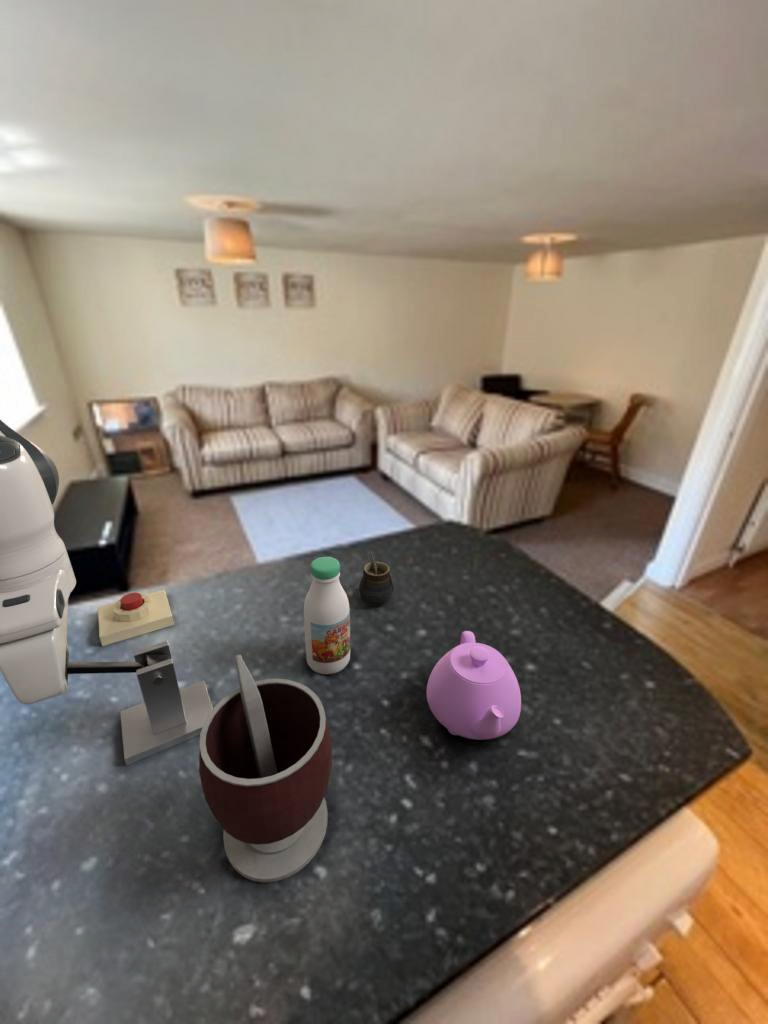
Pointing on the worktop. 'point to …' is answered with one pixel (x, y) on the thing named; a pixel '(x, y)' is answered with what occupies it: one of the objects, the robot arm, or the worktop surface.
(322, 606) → the milk bottle
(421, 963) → the worktop surface
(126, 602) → the button
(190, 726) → the bracket
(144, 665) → the lever
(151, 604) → the button box
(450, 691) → the teapot
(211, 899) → the worktop surface
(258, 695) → the mate gourd
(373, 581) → the mate gourd
